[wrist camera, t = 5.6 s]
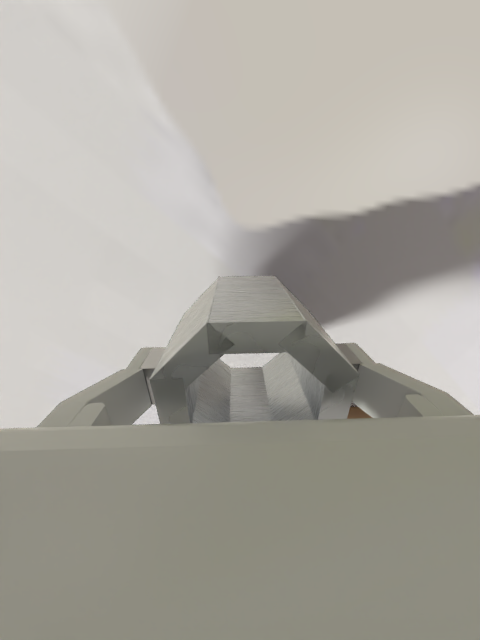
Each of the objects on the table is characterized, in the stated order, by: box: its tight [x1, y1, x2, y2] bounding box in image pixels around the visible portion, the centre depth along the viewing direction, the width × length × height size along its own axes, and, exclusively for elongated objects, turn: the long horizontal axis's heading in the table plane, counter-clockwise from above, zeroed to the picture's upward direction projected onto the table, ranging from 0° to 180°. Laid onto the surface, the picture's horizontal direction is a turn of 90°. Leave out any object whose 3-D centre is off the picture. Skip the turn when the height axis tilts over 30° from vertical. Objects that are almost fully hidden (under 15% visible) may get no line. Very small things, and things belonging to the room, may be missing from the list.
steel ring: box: [149, 276, 360, 424], centre depth 9 cm, size 6×6×5 cm
